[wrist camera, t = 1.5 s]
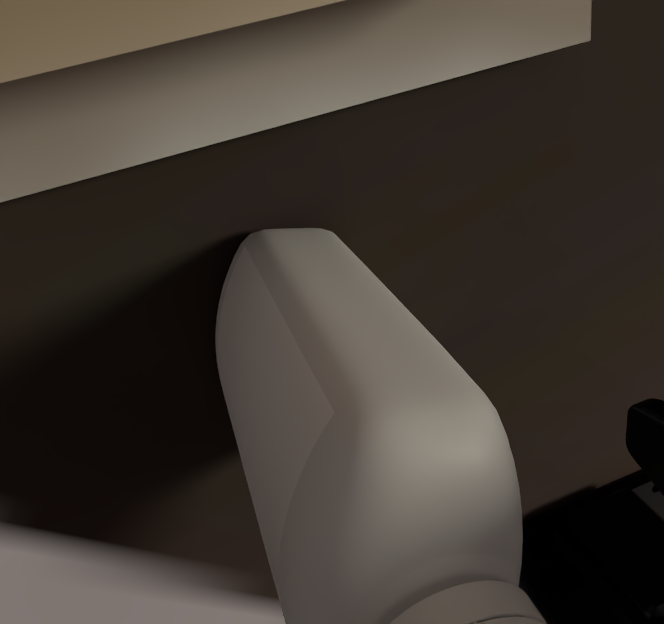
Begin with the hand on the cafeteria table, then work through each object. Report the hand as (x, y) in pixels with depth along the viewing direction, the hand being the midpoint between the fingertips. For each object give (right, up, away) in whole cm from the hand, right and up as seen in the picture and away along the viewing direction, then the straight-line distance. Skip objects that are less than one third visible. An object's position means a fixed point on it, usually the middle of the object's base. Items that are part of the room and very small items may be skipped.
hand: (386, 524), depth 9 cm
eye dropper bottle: (-2, +3, +6) cm, 7 cm away
